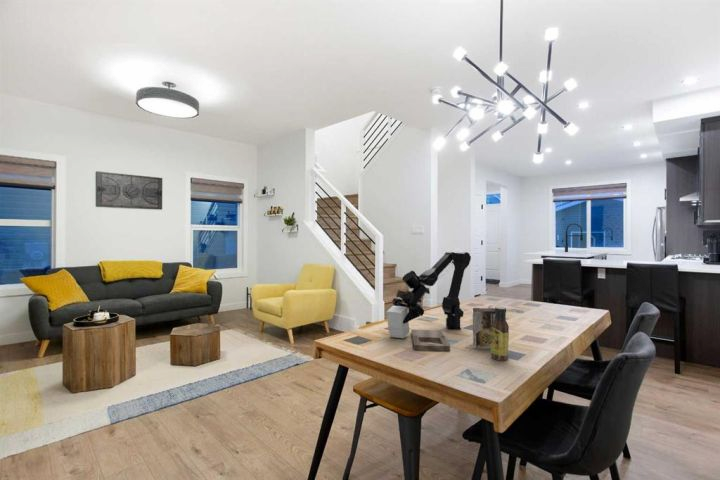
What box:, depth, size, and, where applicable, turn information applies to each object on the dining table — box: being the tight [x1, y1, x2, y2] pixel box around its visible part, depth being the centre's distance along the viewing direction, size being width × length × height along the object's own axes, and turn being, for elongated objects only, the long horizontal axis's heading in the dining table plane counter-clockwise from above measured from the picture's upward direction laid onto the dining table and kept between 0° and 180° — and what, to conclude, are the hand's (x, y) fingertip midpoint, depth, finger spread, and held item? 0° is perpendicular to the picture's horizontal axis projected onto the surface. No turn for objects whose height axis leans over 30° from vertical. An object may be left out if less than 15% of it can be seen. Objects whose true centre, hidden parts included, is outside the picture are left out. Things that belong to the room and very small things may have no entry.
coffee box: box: [472, 307, 495, 350], centre depth 152 cm, size 9×6×16 cm
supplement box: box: [386, 305, 411, 339], centre depth 166 cm, size 7×7×13 cm
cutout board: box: [410, 329, 451, 352], centre depth 159 cm, size 14×24×2 cm, turn 175°
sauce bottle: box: [490, 306, 510, 361], centre depth 138 cm, size 6×6×20 cm
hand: (397, 320), depth 166 cm, fingers closed on supplement box, 9 cm apart
